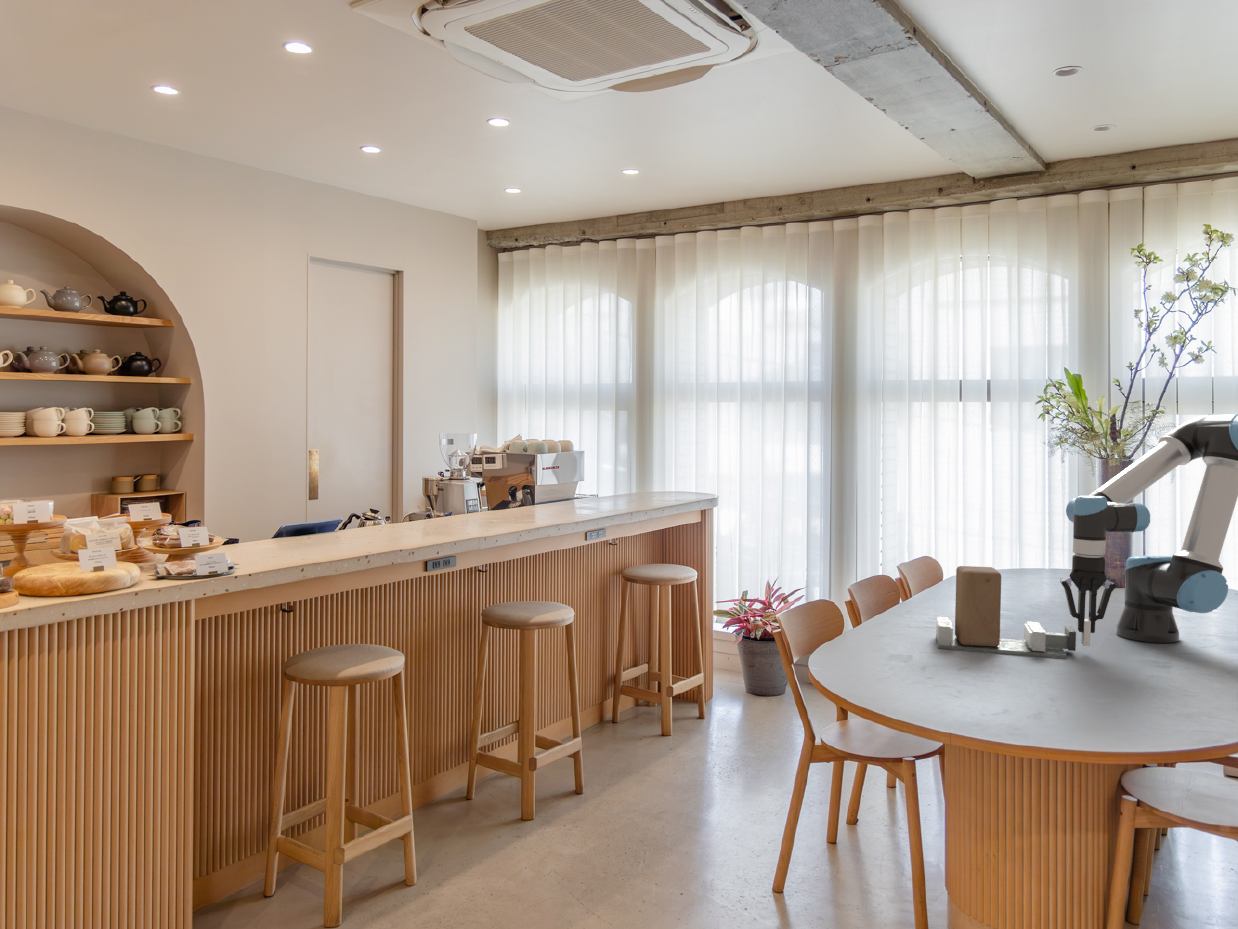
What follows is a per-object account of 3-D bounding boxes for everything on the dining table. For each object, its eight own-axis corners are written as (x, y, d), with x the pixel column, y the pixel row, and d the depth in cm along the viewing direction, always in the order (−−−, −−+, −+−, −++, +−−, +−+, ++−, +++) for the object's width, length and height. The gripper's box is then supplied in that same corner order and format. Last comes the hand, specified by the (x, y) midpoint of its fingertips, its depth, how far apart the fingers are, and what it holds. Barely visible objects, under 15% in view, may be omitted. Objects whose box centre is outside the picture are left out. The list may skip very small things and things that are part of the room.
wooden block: (1000, 648, 230) (1002, 572, 229) (960, 645, 232) (961, 571, 231) (992, 638, 239) (994, 566, 238) (954, 636, 241) (955, 565, 240)
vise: (1057, 646, 235) (1058, 624, 235) (1066, 658, 223) (1067, 635, 223) (936, 637, 245) (936, 616, 244) (938, 648, 232) (938, 626, 232)
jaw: (1068, 642, 234) (1069, 624, 234) (1077, 654, 223) (1078, 634, 222) (1023, 639, 237) (1024, 621, 237) (1029, 650, 226) (1030, 631, 226)
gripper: (1113, 554, 228) (1110, 643, 229) (1058, 551, 232) (1055, 639, 233) (1120, 558, 221) (1117, 650, 222) (1063, 555, 225) (1060, 646, 226)
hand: (1085, 644), depth 227 cm, fingers closed
